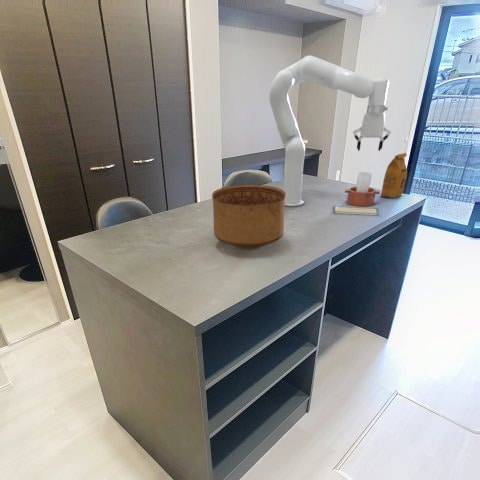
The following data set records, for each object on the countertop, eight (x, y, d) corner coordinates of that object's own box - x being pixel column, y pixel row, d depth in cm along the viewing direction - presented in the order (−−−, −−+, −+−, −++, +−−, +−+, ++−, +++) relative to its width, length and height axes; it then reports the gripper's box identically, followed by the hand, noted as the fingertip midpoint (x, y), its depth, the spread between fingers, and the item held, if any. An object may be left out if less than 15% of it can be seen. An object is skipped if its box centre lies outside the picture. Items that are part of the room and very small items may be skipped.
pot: (217, 232, 155) (215, 185, 144) (280, 232, 154) (283, 184, 143) (211, 258, 132) (208, 204, 121) (285, 258, 131) (288, 203, 120)
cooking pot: (343, 205, 185) (345, 192, 181) (342, 198, 196) (344, 185, 192) (378, 207, 182) (381, 193, 178) (376, 200, 193) (378, 187, 189)
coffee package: (405, 195, 200) (415, 153, 187) (393, 200, 193) (403, 156, 181) (389, 192, 206) (398, 151, 194) (377, 196, 199) (386, 154, 187)
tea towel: (335, 213, 175) (335, 212, 175) (335, 206, 185) (335, 205, 185) (377, 215, 171) (377, 214, 171) (375, 208, 181) (375, 207, 181)
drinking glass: (351, 201, 192) (356, 172, 183) (363, 201, 192) (368, 171, 184) (356, 205, 186) (361, 175, 178) (368, 204, 186) (374, 174, 178)
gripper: (394, 109, 165) (386, 149, 175) (355, 109, 169) (350, 149, 178) (396, 110, 159) (388, 151, 169) (356, 111, 163) (350, 151, 172)
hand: (368, 150), depth 174 cm, fingers open, 9 cm apart
